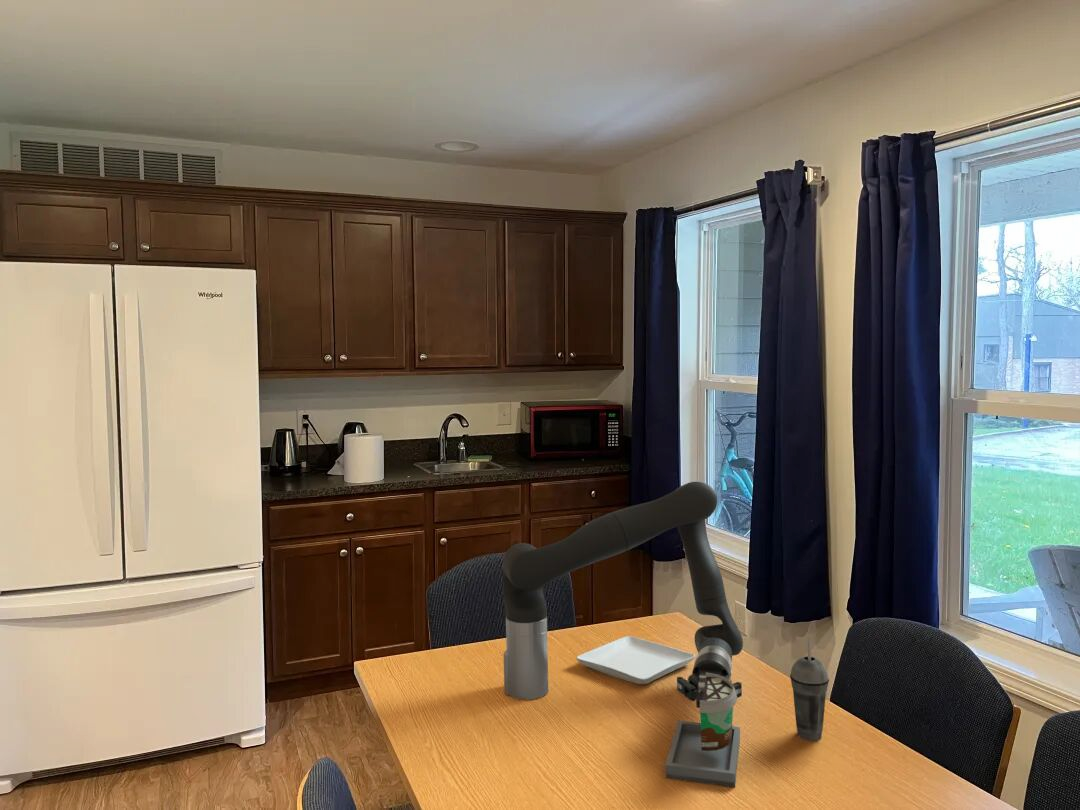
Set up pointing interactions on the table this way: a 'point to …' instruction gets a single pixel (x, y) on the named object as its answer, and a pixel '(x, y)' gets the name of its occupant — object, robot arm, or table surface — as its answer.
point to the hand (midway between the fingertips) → (704, 706)
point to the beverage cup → (809, 695)
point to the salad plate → (635, 659)
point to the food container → (716, 712)
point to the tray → (701, 757)
